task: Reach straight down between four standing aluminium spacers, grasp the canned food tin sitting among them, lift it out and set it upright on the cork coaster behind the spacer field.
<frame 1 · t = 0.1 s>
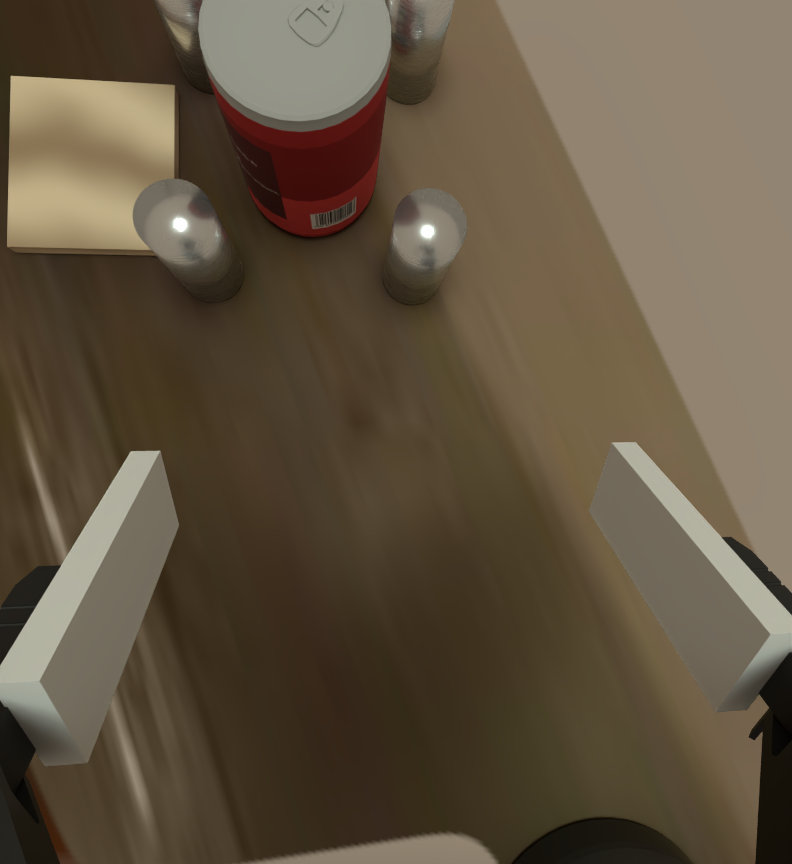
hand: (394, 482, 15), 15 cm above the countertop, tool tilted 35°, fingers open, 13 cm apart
spacer b: (213, 273, 30), on the countertop
spacer a: (411, 276, 31), on the countertop
spacer d: (212, 65, 31), on the countertop
spacer c: (406, 77, 32), on the countertop
canned food: (313, 182, 31), on the countertop
coaster: (99, 171, 30), on the countertop
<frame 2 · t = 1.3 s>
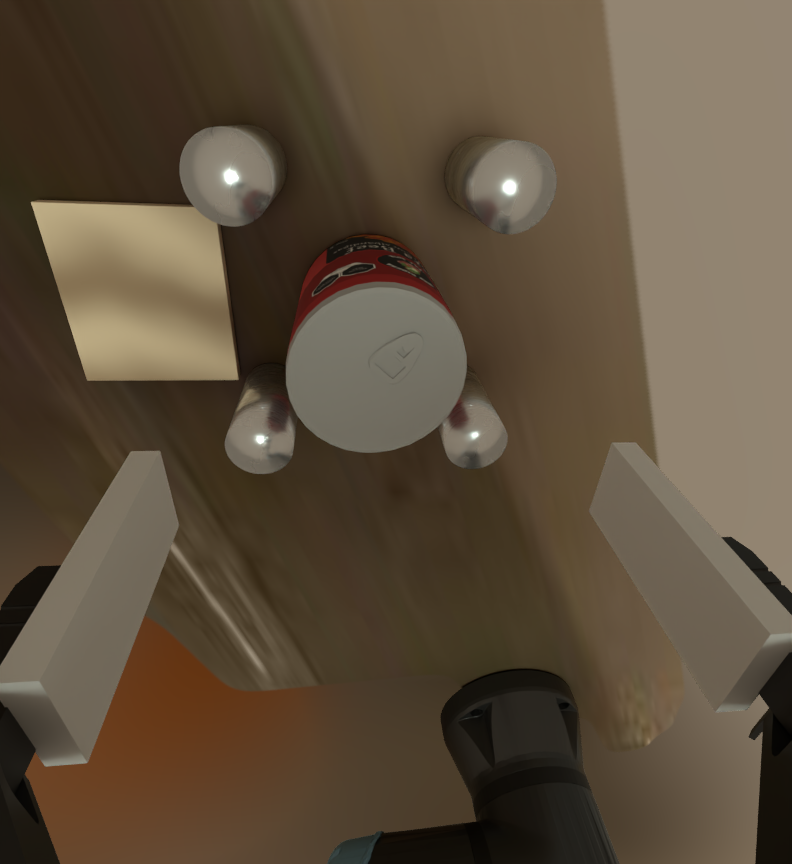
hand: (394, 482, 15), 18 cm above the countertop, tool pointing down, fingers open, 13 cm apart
spacer b: (273, 388, 33), on the countertop
spacer a: (452, 387, 34), on the countertop
spacer d: (251, 165, 26), on the countertop
spacer c: (477, 174, 27), on the countertop
canned food: (365, 298, 31), on the countertop
coaster: (150, 296, 29), on the countertop
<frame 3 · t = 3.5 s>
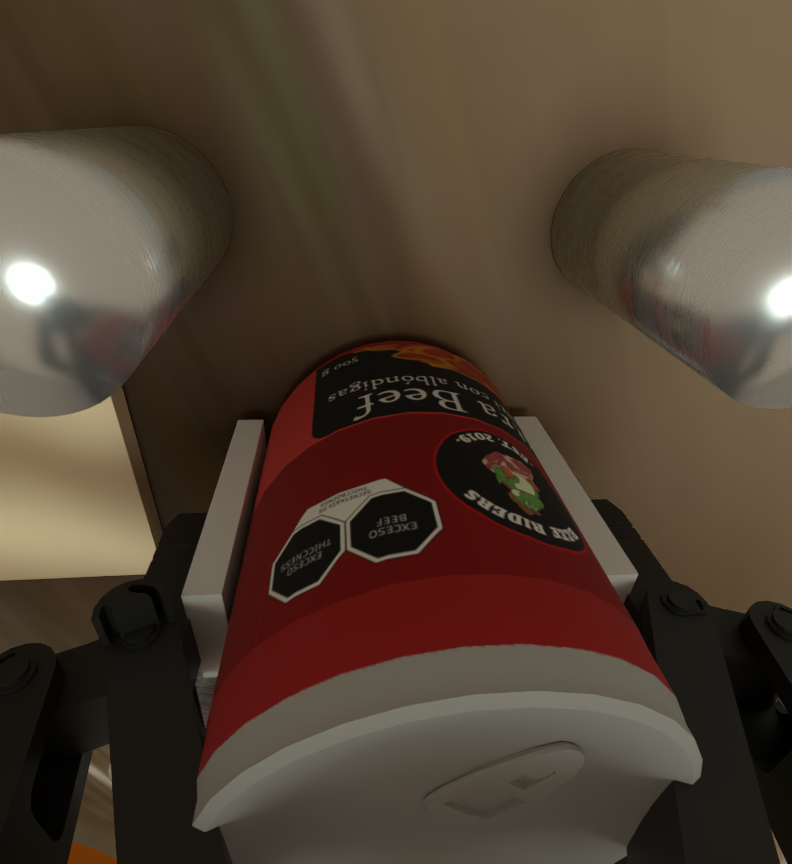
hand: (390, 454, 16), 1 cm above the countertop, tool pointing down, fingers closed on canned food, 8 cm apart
spacer b: (228, 572, 19), on the countertop
spacer d: (157, 210, 12), on the countertop
spacer c: (615, 224, 14), on the countertop
canned food: (387, 438, 17), on the countertop, touching gripper
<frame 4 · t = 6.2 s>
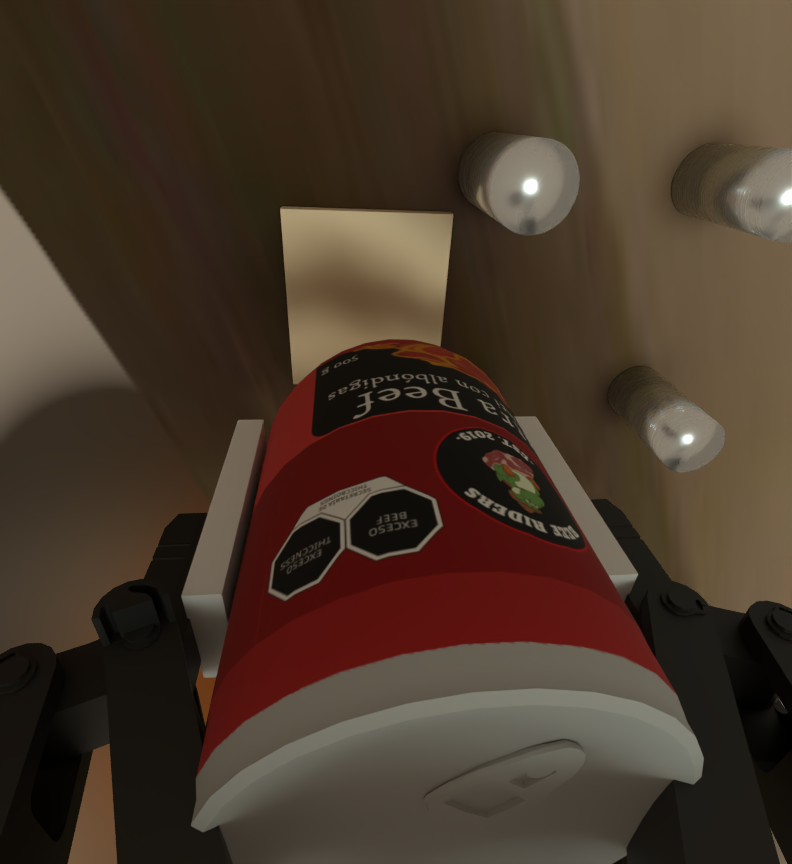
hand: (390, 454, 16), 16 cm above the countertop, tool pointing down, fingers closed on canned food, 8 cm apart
spacer a: (633, 390, 34), on the countertop
spacer d: (491, 171, 26), on the countertop
spacer c: (703, 180, 28), on the countertop
canned food: (387, 437, 17), point 15 cm above the countertop, touching gripper
coaster: (366, 301, 29), on the countertop
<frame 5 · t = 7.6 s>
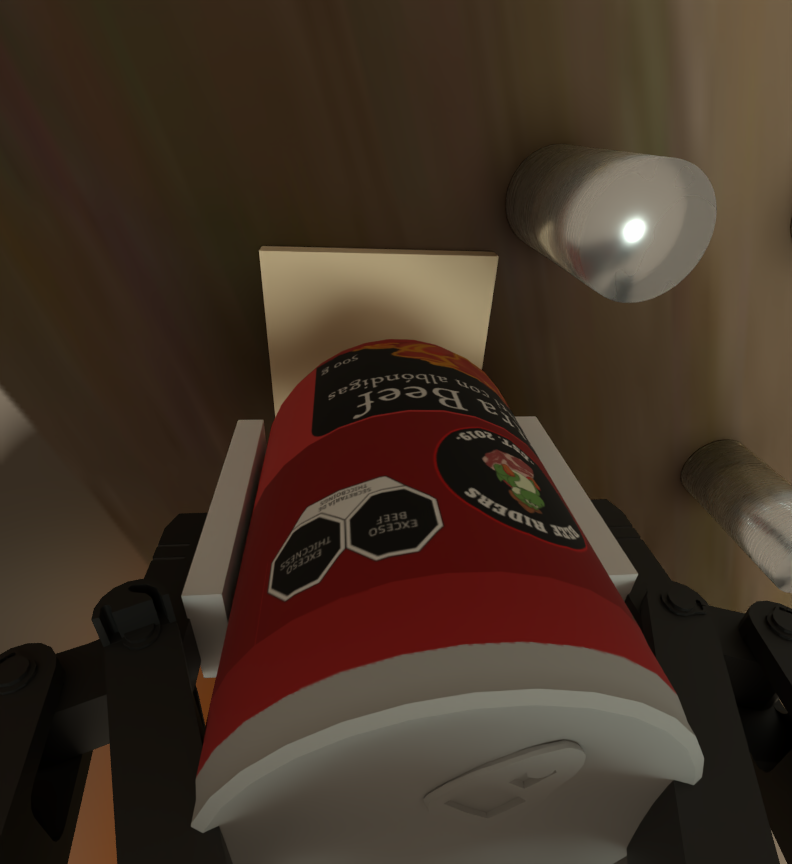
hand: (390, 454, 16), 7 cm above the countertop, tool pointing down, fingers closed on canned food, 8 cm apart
spacer a: (713, 467, 27), on the countertop
spacer d: (552, 198, 19), on the countertop
canned food: (387, 437, 17), point 6 cm above the countertop, touching gripper
coaster: (377, 366, 22), on the countertop
when the fingers open (3 cm above the countertop, at t = 8.9 s): canned food drops 1 cm, resting on coaster.
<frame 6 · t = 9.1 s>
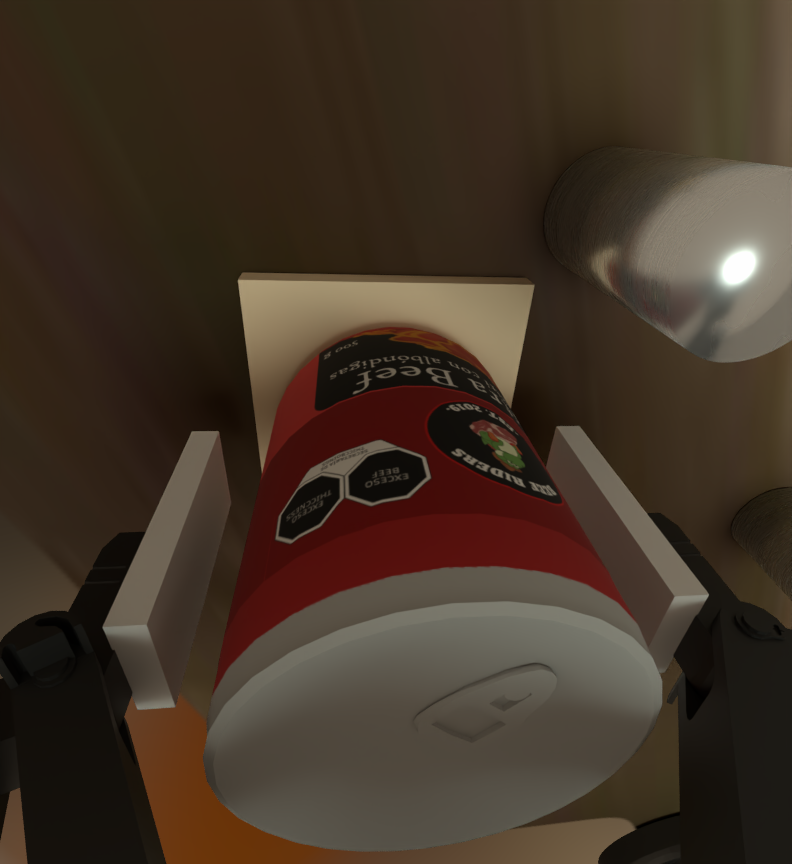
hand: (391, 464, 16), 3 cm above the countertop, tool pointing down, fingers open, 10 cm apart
spacer a: (769, 517, 24), on the countertop
spacer d: (601, 213, 15), on the countertop
canned food: (386, 421, 18), point 1 cm above the countertop, touching coaster
coaster: (383, 412, 18), on the countertop
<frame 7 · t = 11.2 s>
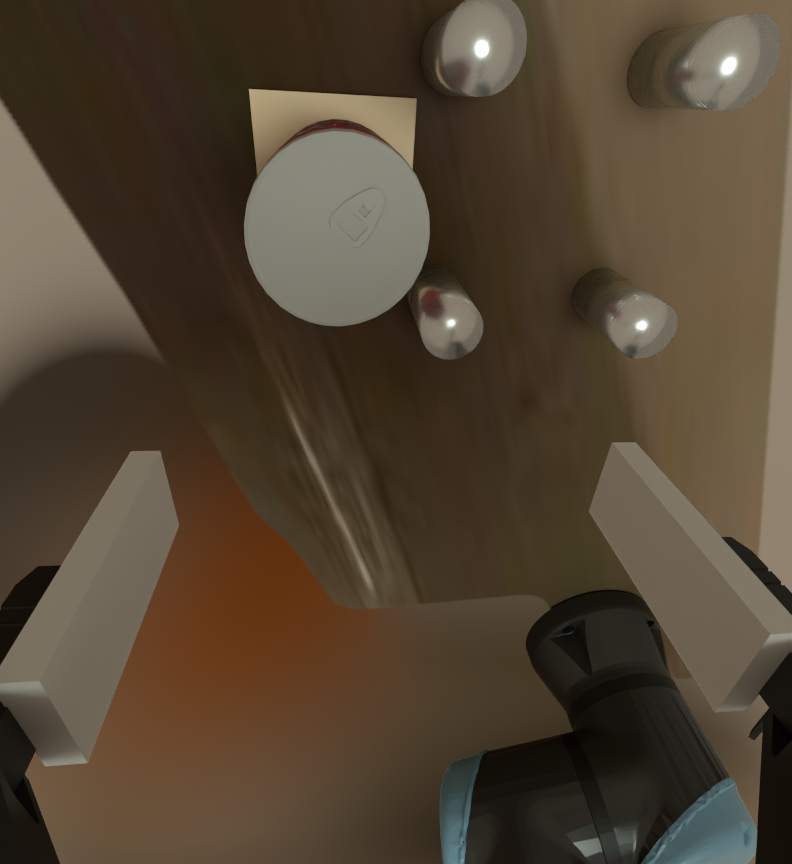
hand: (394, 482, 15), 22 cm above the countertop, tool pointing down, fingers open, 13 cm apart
spacer b: (432, 291, 34), on the countertop
spacer a: (597, 293, 36), on the countertop
spacer d: (453, 56, 27), on the countertop
spacer c: (658, 70, 29), on the countertop
canned food: (336, 194, 30), point 1 cm above the countertop, touching coaster
coaster: (336, 192, 30), on the countertop
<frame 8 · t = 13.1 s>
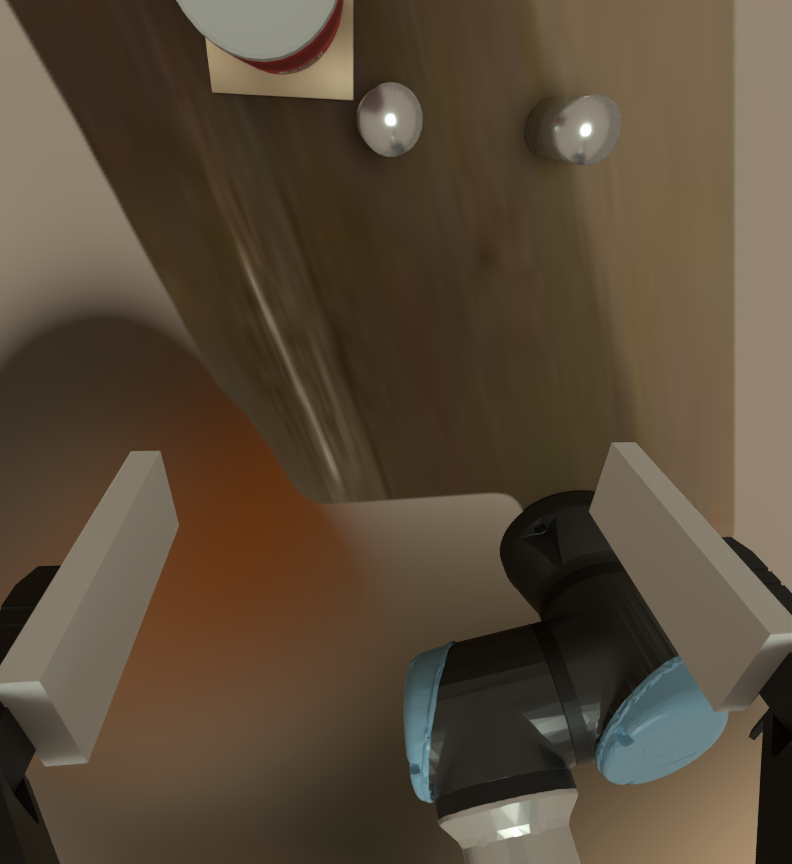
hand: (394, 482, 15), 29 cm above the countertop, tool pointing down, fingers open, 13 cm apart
spacer b: (382, 119, 34), on the countertop
spacer a: (549, 128, 36), on the countertop
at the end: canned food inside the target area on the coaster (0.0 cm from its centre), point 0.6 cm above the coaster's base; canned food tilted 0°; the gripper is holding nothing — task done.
